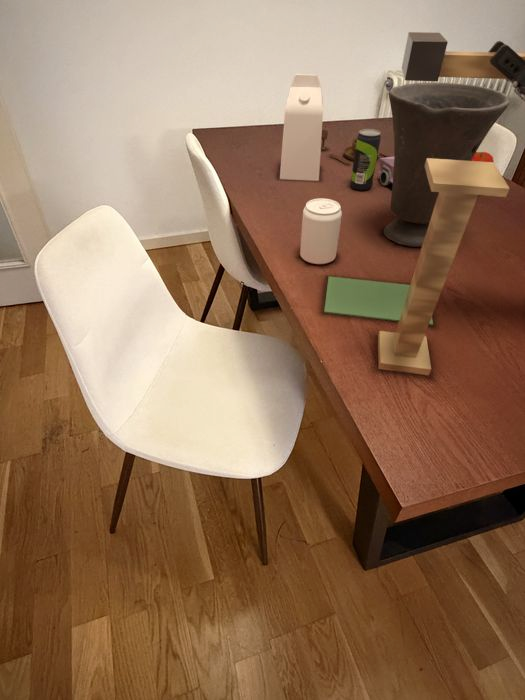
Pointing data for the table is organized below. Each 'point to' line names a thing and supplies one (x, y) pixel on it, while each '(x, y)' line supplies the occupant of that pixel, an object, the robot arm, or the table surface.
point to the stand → (436, 257)
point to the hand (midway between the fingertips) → (494, 51)
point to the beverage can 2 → (365, 159)
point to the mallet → (444, 60)
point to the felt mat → (366, 298)
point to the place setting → (348, 151)
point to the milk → (302, 129)
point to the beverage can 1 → (320, 230)
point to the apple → (482, 157)
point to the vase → (433, 144)
